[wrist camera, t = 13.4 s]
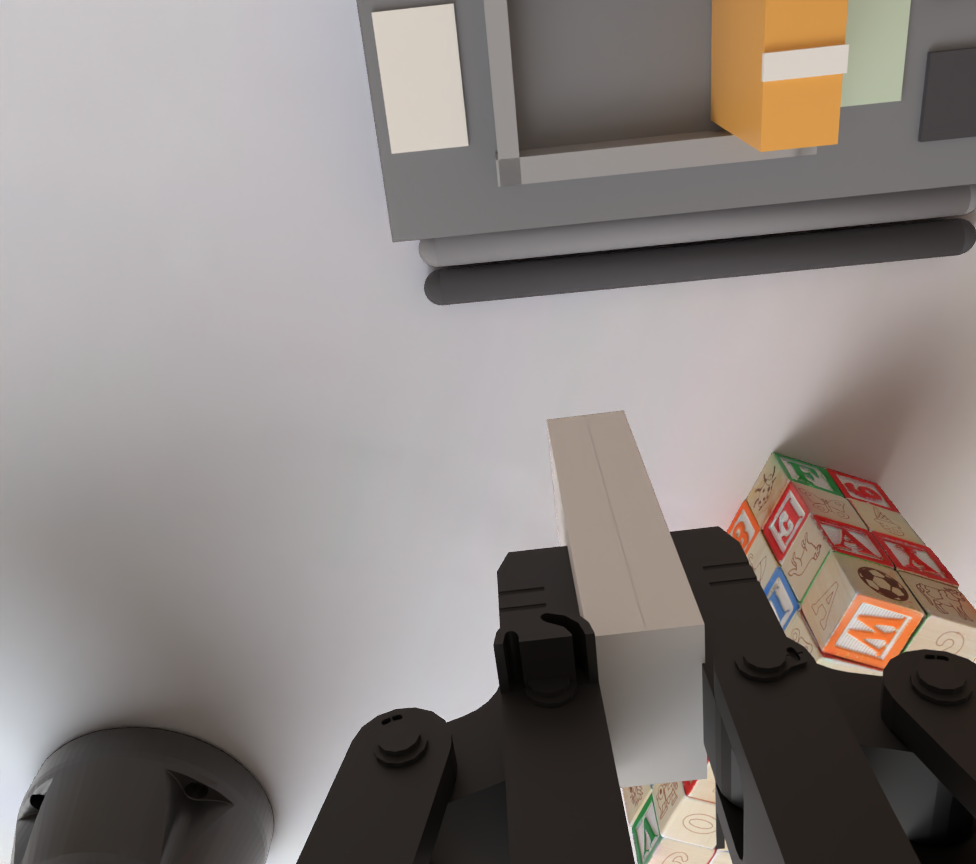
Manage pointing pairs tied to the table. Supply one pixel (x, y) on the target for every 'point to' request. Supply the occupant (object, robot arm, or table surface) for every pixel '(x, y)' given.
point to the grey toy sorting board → (640, 112)
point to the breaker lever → (778, 71)
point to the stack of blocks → (817, 614)
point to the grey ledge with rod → (700, 245)
